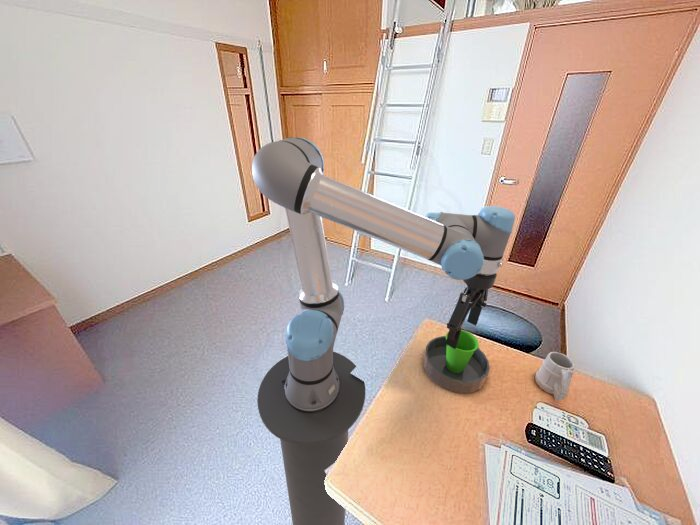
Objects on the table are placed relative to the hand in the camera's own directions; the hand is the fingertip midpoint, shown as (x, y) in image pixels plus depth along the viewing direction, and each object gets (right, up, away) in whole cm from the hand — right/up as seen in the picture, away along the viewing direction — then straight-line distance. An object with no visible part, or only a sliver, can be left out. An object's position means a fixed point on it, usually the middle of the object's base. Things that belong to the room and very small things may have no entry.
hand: (461, 333), depth 81 cm
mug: (+25, -16, 0) cm, 30 cm away
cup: (0, -12, +6) cm, 13 cm away
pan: (0, -12, +6) cm, 14 cm away
